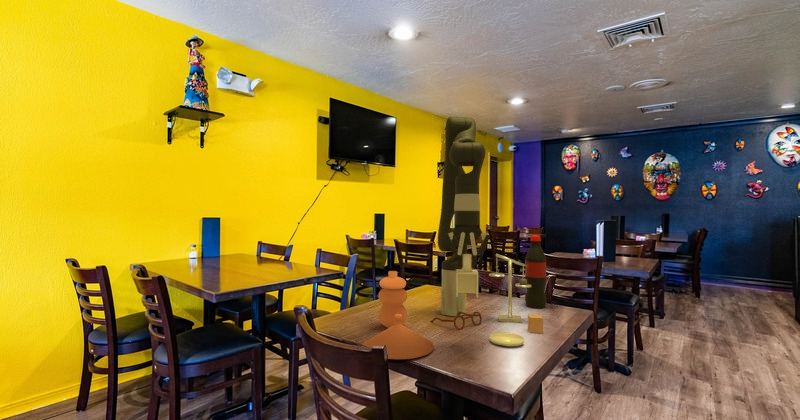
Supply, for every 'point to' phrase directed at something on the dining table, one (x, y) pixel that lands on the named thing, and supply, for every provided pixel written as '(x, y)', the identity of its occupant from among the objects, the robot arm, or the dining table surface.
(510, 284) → the balance
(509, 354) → the dining table surface
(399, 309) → the ceramic vessels
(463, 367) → the dining table surface
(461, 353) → the dining table surface
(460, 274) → the hood
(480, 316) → the glasses
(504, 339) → the dish
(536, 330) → the block
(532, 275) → the cola bottle
